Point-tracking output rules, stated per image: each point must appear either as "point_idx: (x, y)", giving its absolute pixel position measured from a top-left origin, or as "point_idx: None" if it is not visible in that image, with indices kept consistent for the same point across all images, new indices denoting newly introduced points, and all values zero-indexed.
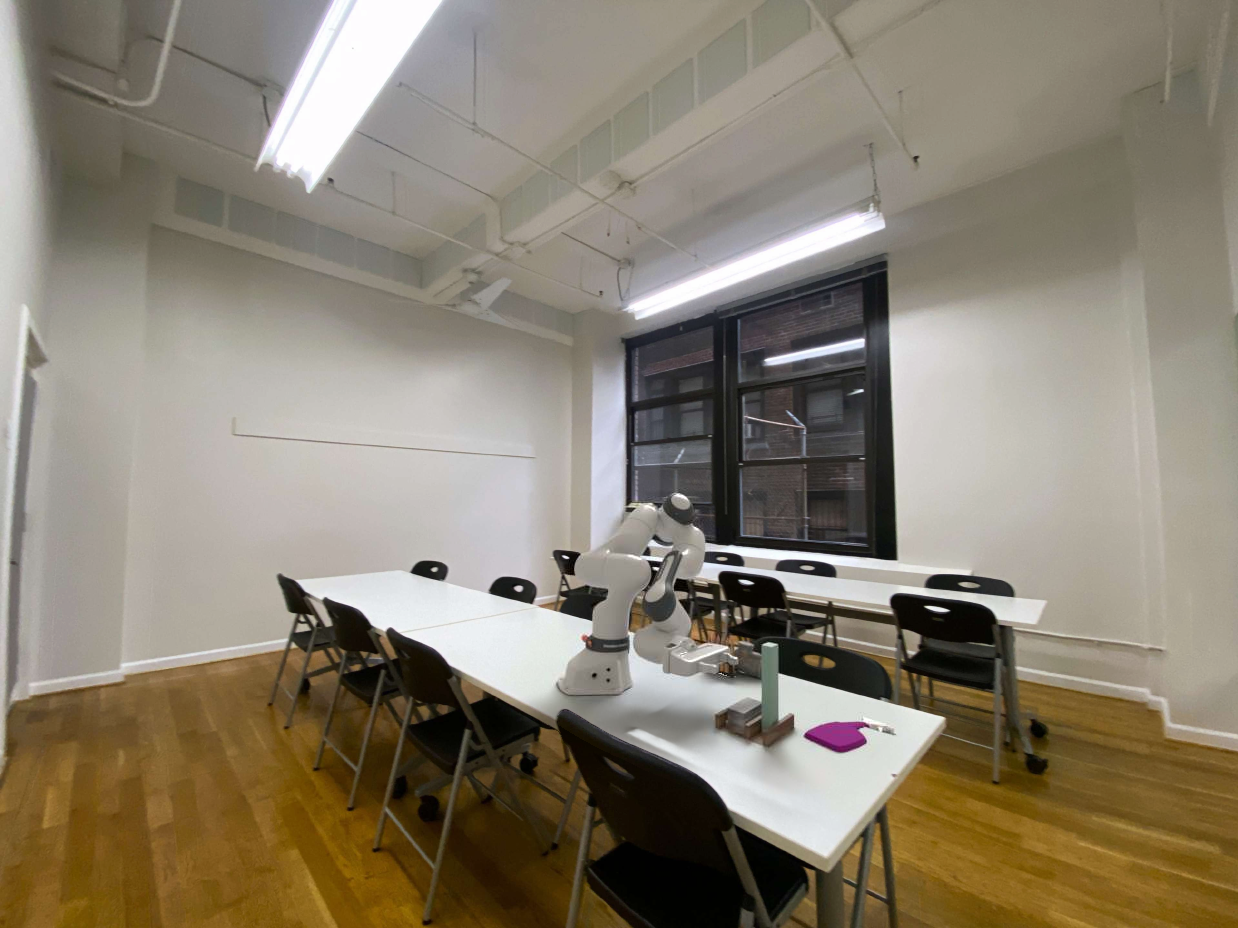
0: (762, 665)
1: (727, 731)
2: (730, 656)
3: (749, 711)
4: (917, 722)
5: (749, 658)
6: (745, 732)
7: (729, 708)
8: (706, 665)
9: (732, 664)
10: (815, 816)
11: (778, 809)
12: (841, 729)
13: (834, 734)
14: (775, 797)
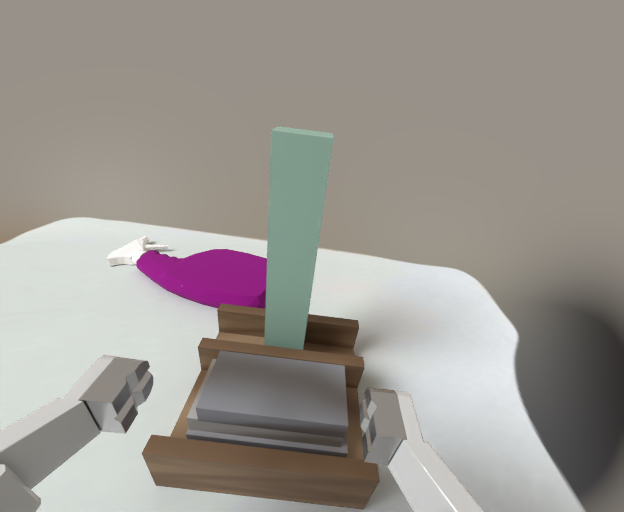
0: (321, 214)
1: (360, 444)
2: (73, 409)
3: (311, 363)
4: (90, 227)
5: None
6: (360, 377)
7: (346, 417)
8: (443, 468)
9: (137, 406)
10: (430, 281)
11: (461, 305)
12: (206, 266)
13: (236, 270)
14: (446, 312)
